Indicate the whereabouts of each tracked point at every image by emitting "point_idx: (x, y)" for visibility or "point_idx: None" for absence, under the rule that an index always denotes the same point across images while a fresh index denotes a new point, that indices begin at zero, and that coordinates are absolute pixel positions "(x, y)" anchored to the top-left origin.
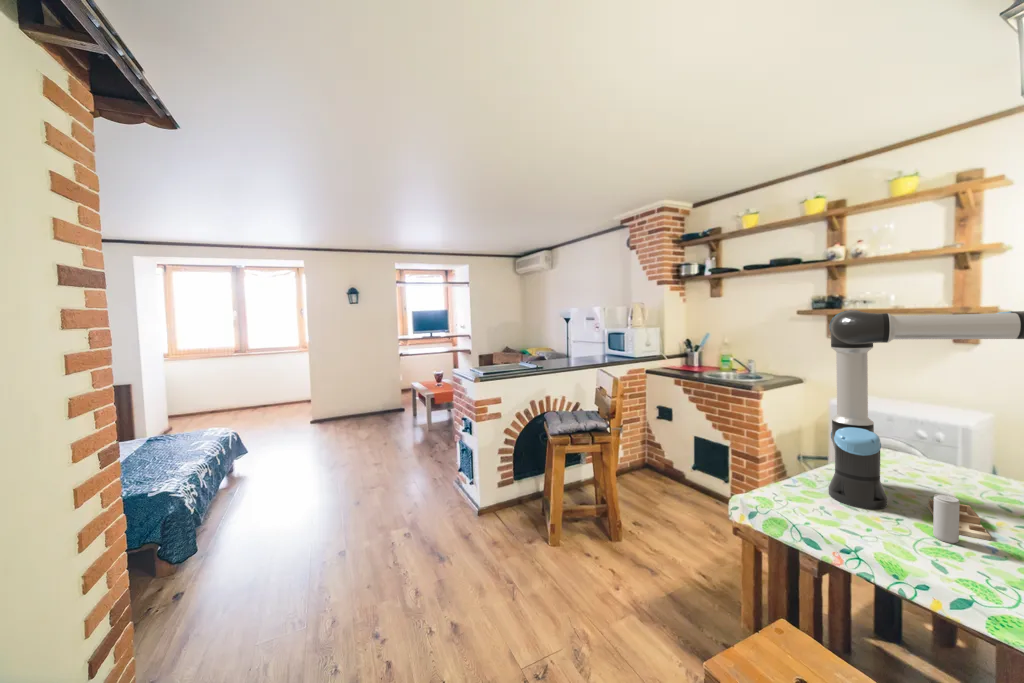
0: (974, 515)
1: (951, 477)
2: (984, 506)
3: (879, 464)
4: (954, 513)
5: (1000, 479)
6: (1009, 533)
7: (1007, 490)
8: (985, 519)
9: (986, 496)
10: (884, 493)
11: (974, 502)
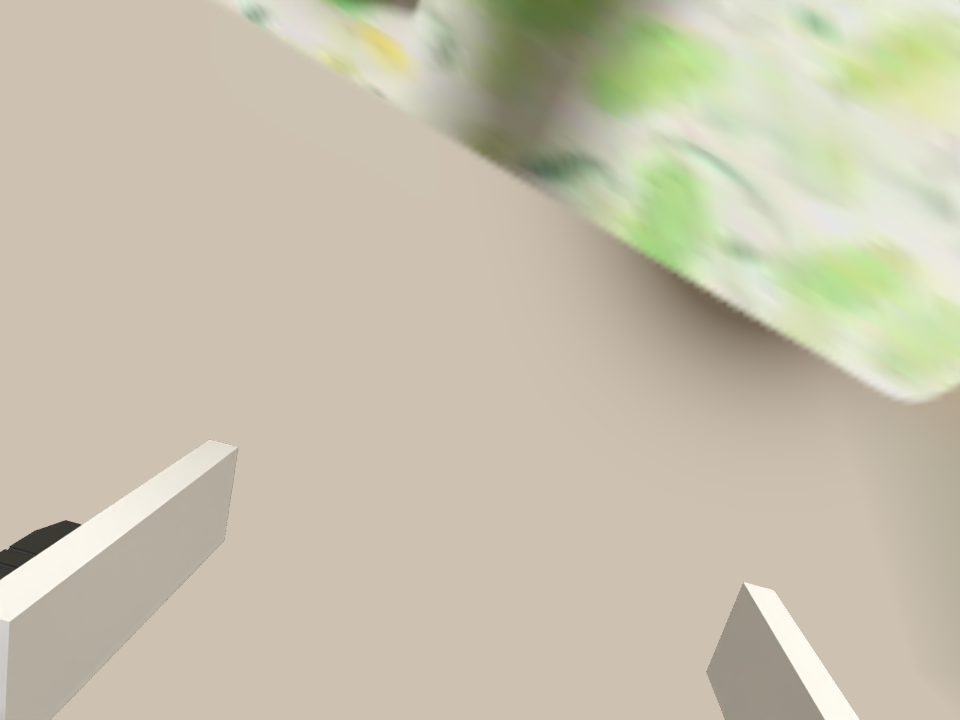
0: None
1: (950, 152)
2: (564, 92)
3: None
4: None
5: (947, 371)
6: (297, 30)
7: (794, 311)
8: (412, 12)
9: (695, 173)
10: None
11: (603, 74)
